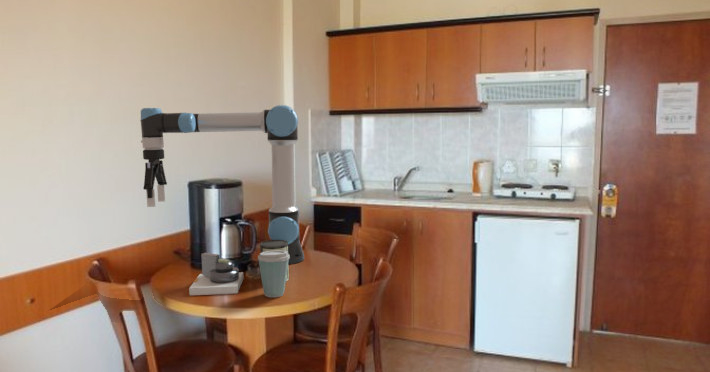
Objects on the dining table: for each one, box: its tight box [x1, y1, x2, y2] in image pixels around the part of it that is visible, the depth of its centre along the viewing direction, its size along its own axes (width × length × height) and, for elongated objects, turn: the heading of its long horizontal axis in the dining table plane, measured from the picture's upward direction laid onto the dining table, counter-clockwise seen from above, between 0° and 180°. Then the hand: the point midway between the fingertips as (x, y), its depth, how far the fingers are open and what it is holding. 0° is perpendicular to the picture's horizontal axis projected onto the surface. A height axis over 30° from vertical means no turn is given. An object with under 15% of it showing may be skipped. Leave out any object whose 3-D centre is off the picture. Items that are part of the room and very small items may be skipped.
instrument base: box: [188, 271, 245, 296], centre depth 181 cm, size 16×17×3 cm
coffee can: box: [259, 239, 290, 282], centre depth 187 cm, size 10×10×14 cm
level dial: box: [201, 252, 240, 283], centre depth 182 cm, size 15×10×8 cm, turn 60°
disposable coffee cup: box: [257, 250, 290, 298], centre depth 171 cm, size 11×11×15 cm
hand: (156, 204), depth 195 cm, fingers open, 13 cm apart
